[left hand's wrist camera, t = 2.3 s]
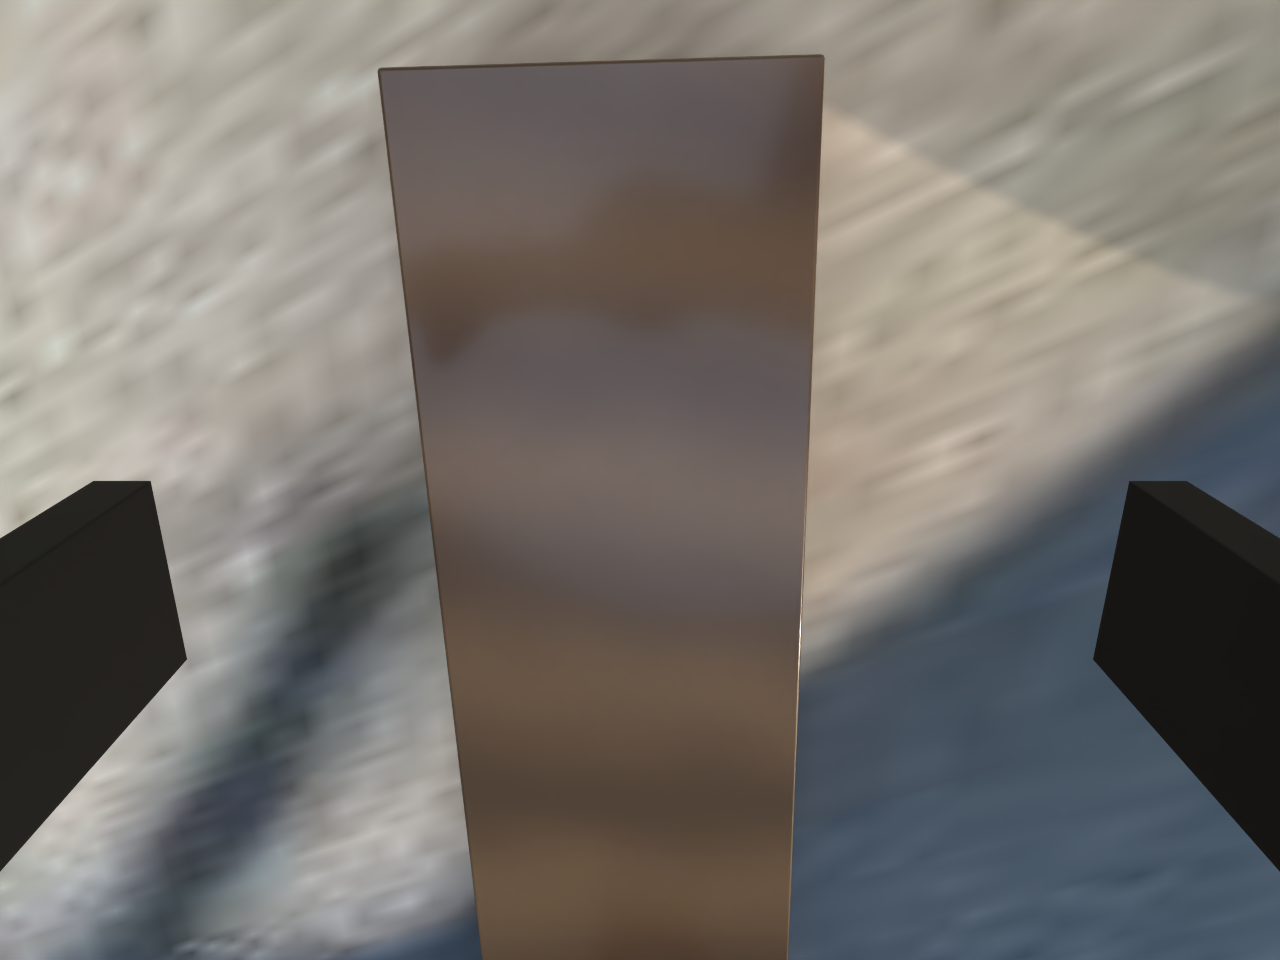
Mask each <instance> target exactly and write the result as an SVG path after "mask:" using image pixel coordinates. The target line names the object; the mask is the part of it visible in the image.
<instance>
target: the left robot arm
mask: <svg viewBox="0 0 1280 960" xmlns="http://www.w3.org/2000/svg"><path fill="white" fill-rule="evenodd" d="M186 660H187V658H186V653H185V648H184V643H183V638H182V633H181V628H180V623H179V618H178V613H177V608H176V604H175V599H174V594H173V589H172V584H171V579H170V574H169V569H168V564H167V559H166V555H165V550H164V545H163V540H162V535H161V530H160V525H159V520H158V515H157V510H156V505H155V501H154V496H153V491H152V486H151V481H93V482H91V483H90V484H88V485H86V486H85V487H83V488H81V489H80V490H78V491H77V492H75V493H73V494H72V495H70V496H68V497H67V498H65V499H64V500H62V501H60V502H59V503H57V504H55V505H54V506H52V507H51V508H49V509H47V510H46V511H44V512H42V513H41V514H39V515H38V516H36V517H34V518H33V519H31V520H29V521H28V522H26V523H25V524H23V525H21V526H20V527H18V528H16V529H15V530H13V531H12V532H10V533H8V534H7V535H5V536H3V537H2V538H0V871H1V870H2V869H3V868H4V867H5V865H6V864H7V863H8V862H9V861H10V860H11V859H12V857H13V856H14V855H15V854H16V853H17V852H18V851H19V850H20V848H21V847H22V846H23V845H24V844H25V843H26V842H27V840H28V839H29V838H30V837H31V836H32V835H33V834H34V832H35V831H36V830H37V829H38V828H39V827H40V826H41V825H42V823H43V822H44V821H45V820H46V819H47V818H48V817H49V815H50V814H51V813H52V812H53V811H54V810H55V809H56V807H57V806H58V805H59V804H60V803H61V802H62V801H63V800H64V798H65V797H66V796H67V795H68V794H69V793H70V792H71V790H72V789H73V788H74V787H75V786H76V785H77V784H78V782H79V781H80V780H81V779H82V778H83V777H84V776H85V775H86V773H87V772H88V771H89V770H90V769H91V768H92V767H93V765H94V764H95V763H96V762H97V761H98V760H99V759H100V757H101V756H102V755H103V754H104V753H105V752H106V751H107V750H108V748H109V747H110V746H111V745H112V744H113V743H114V742H115V740H116V739H117V738H118V737H119V736H120V735H121V734H122V732H123V731H124V730H125V729H126V728H127V727H128V726H129V725H130V723H131V722H132V721H133V720H134V719H135V718H136V717H137V715H138V714H139V713H140V712H141V711H142V710H143V709H144V707H145V706H146V705H147V704H148V703H149V702H150V701H151V700H152V698H153V697H154V696H155V695H156V694H157V693H158V692H159V690H160V689H161V688H162V687H163V686H164V685H165V684H166V682H167V681H168V680H169V679H170V678H171V677H172V676H173V675H174V673H175V672H176V671H177V670H178V669H179V668H180V667H181V665H182V664H183V663H184V662H185V661H186ZM1093 660H1094V661H1095V662H1096V663H1097V664H1098V665H1099V667H1100V668H1101V669H1102V670H1103V671H1104V672H1105V673H1106V675H1107V676H1108V677H1109V678H1110V679H1111V680H1112V681H1113V682H1114V684H1115V685H1116V686H1117V687H1118V688H1119V689H1120V690H1121V692H1122V693H1123V694H1124V695H1125V696H1126V697H1127V698H1128V700H1129V701H1130V702H1131V703H1132V704H1133V705H1134V706H1135V707H1136V709H1137V710H1138V711H1139V712H1140V713H1141V714H1142V715H1143V717H1144V718H1145V719H1146V720H1147V721H1148V722H1149V723H1150V725H1151V726H1152V727H1153V728H1154V729H1155V730H1156V731H1157V732H1158V734H1159V735H1160V736H1161V737H1162V738H1163V739H1164V740H1165V742H1166V743H1167V744H1168V745H1169V746H1170V747H1171V748H1172V750H1173V751H1174V752H1175V753H1176V754H1177V755H1178V756H1179V757H1180V759H1181V760H1182V761H1183V762H1184V763H1185V764H1186V765H1187V767H1188V768H1189V769H1190V770H1191V771H1192V772H1193V773H1194V775H1195V776H1196V777H1197V778H1198V779H1199V780H1200V781H1201V782H1202V784H1203V785H1204V786H1205V787H1206V788H1207V789H1208V790H1209V792H1210V793H1211V794H1212V795H1213V796H1214V797H1215V798H1216V800H1217V801H1218V802H1219V803H1220V804H1221V805H1222V806H1223V807H1224V809H1225V810H1226V811H1227V812H1228V813H1229V814H1230V815H1231V817H1232V818H1233V819H1234V820H1235V821H1236V822H1237V823H1238V825H1239V826H1240V827H1241V828H1242V829H1243V830H1244V831H1245V832H1246V834H1247V835H1248V836H1249V837H1250V838H1251V839H1252V840H1253V842H1254V843H1255V844H1256V845H1257V846H1258V847H1259V848H1260V850H1261V851H1262V852H1263V853H1264V854H1265V855H1266V856H1267V857H1268V859H1269V860H1270V861H1271V862H1272V863H1273V864H1274V865H1275V867H1276V868H1277V869H1278V870H1279V871H1280V538H1278V537H1277V536H1275V535H1273V534H1272V533H1270V532H1268V531H1267V530H1265V529H1264V528H1262V527H1260V526H1259V525H1257V524H1255V523H1254V522H1252V521H1251V520H1249V519H1247V518H1246V517H1244V516H1242V515H1241V514H1239V513H1238V512H1236V511H1234V510H1233V509H1231V508H1229V507H1228V506H1226V505H1225V504H1223V503H1221V502H1220V501H1218V500H1216V499H1215V498H1213V497H1212V496H1210V495H1208V494H1207V493H1205V492H1203V491H1202V490H1200V489H1199V488H1197V487H1195V486H1194V485H1192V484H1190V483H1189V482H1187V481H1129V486H1128V491H1127V496H1126V501H1125V505H1124V510H1123V515H1122V520H1121V525H1120V530H1119V535H1118V540H1117V545H1116V550H1115V555H1114V559H1113V564H1112V569H1111V574H1110V579H1109V584H1108V589H1107V594H1106V599H1105V604H1104V608H1103V613H1102V618H1101V623H1100V628H1099V633H1098V638H1097V643H1096V648H1095V653H1094V658H1093Z"/></svg>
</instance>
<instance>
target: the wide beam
mask: <svg viewBox="0 0 1280 960" xmlns="http://www.w3.org/2000/svg"><path fill="white" fill-rule="evenodd" d="M824 60H825V58H824V55H821V54H816V55H783V56H750V57H717V58H684V59H651V60H618V61H585V62H553V63H520V64H487V65H454V66H421V67H388V68H379V69H378V79H379V87H380V96H381V104H382V113H383V121H384V130H385V138H386V147H387V155H388V164H389V172H390V181H391V189H392V198H393V206H394V215H395V223H396V232H397V241H398V249H399V258H400V266H401V275H402V283H403V292H404V300H405V309H406V317H407V326H408V334H409V343H410V351H411V360H412V368H413V377H414V385H415V394H416V402H417V411H418V419H419V428H420V436H421V445H422V453H423V462H424V470H425V479H426V487H427V496H428V504H429V513H430V521H431V530H432V538H433V547H434V555H435V564H436V572H437V581H438V589H439V598H440V606H441V615H442V623H443V632H444V640H445V649H446V657H447V666H448V674H449V683H450V691H451V700H452V708H453V717H454V726H455V734H456V743H457V751H458V760H459V768H460V777H461V785H462V794H463V802H464V811H465V819H466V828H467V836H468V845H469V853H470V862H471V870H472V879H473V887H474V896H475V904H476V913H477V921H478V930H479V938H480V947H481V955H482V960H788V950H789V925H790V900H791V876H792V851H793V826H794V802H795V777H796V752H797V727H798V703H799V678H800V653H801V628H802V604H803V579H804V554H805V530H806V505H807V480H808V455H809V431H810V406H811V381H812V357H813V332H814V307H815V282H816V258H817V233H818V208H819V184H820V159H821V134H822V109H823V85H824Z"/></svg>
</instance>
